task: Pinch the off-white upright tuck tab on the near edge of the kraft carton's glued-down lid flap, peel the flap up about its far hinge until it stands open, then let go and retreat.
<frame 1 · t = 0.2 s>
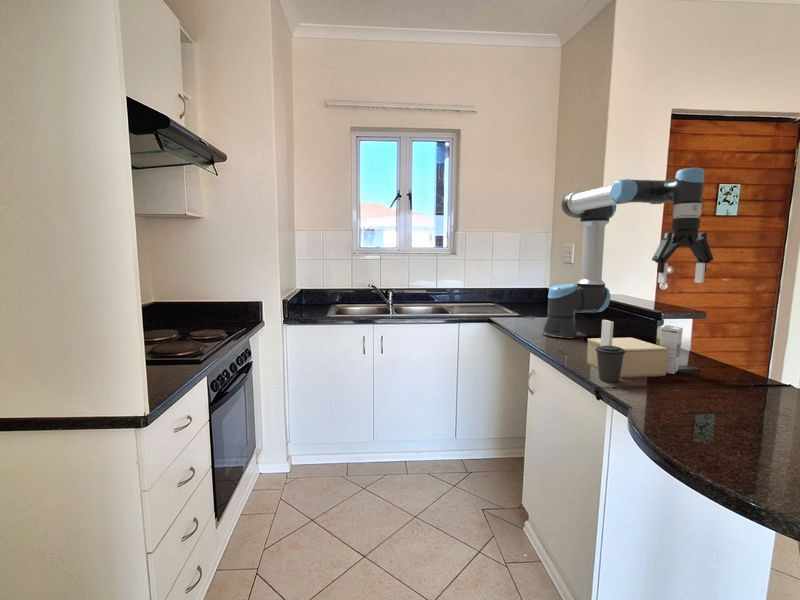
hand: (680, 282, 132), 28 cm above the table, fingers open, 13 cm apart
coffee cup: (609, 379, 119), on the table, touching lid flap
carton: (624, 369, 129), on the table
lid flap: (624, 332, 128), point 12 cm above the table, hinge at 0.4°, touching coffee cup
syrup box: (666, 371, 128), on the table
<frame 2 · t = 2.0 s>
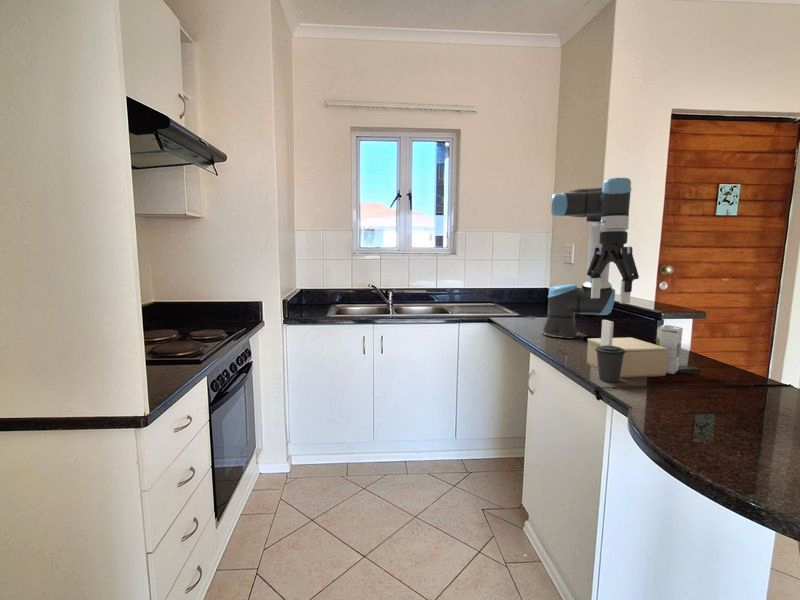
hand: (609, 300, 123), 23 cm above the table, fingers open, 13 cm apart
nothing on the table moved.
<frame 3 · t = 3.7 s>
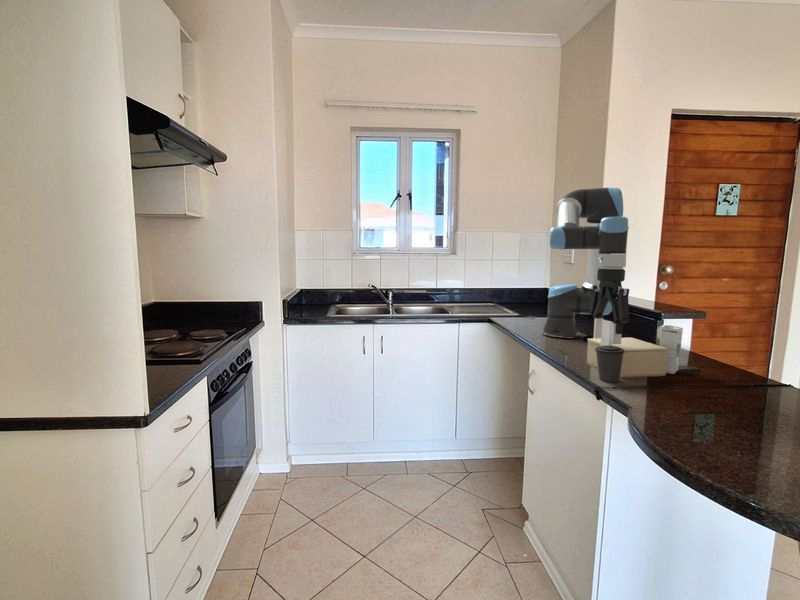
hand: (606, 340, 124), 10 cm above the table, fingers open, 8 cm apart
coffee cup: (609, 379, 119), on the table, touching gripper, lid flap
everything else where it was.
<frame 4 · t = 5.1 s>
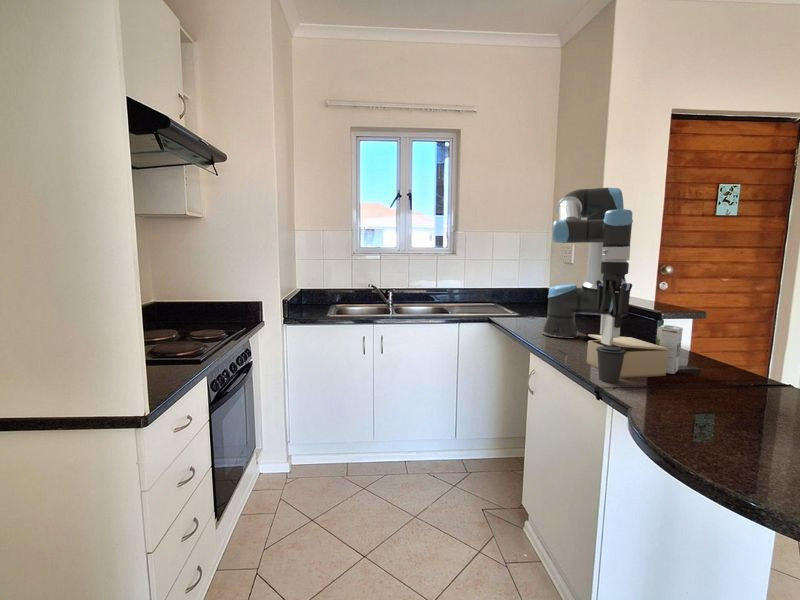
hand: (609, 335, 124), 12 cm above the table, fingers closed on lid flap, 4 cm apart
coffee cup: (608, 380, 119), on the table
lid flap: (626, 330, 128), point 13 cm above the table, hinge at 5.8°, touching gripper
everything else where it was.
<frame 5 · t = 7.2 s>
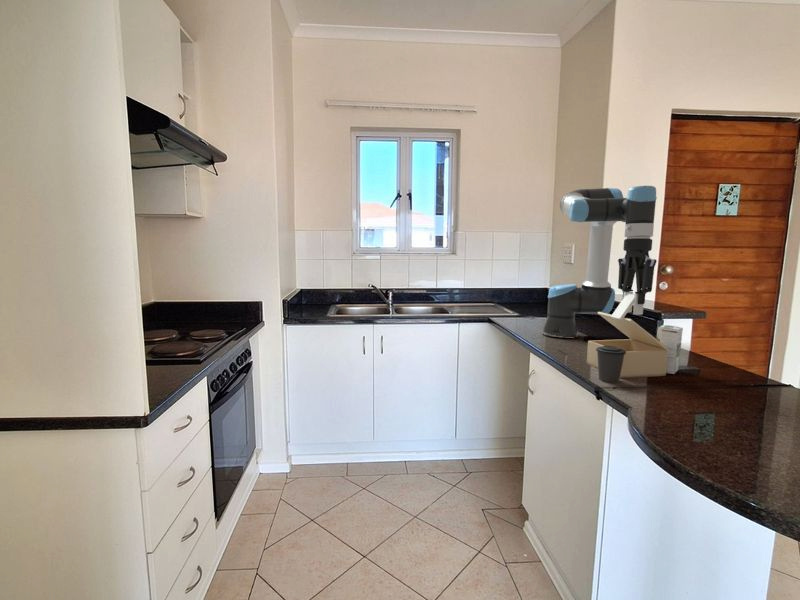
hand: (632, 313, 125), 19 cm above the table, fingers closed on lid flap, 4 cm apart
lid flap: (636, 319, 128), point 16 cm above the table, hinge at 35.2°, touching gripper
everything else where it was.
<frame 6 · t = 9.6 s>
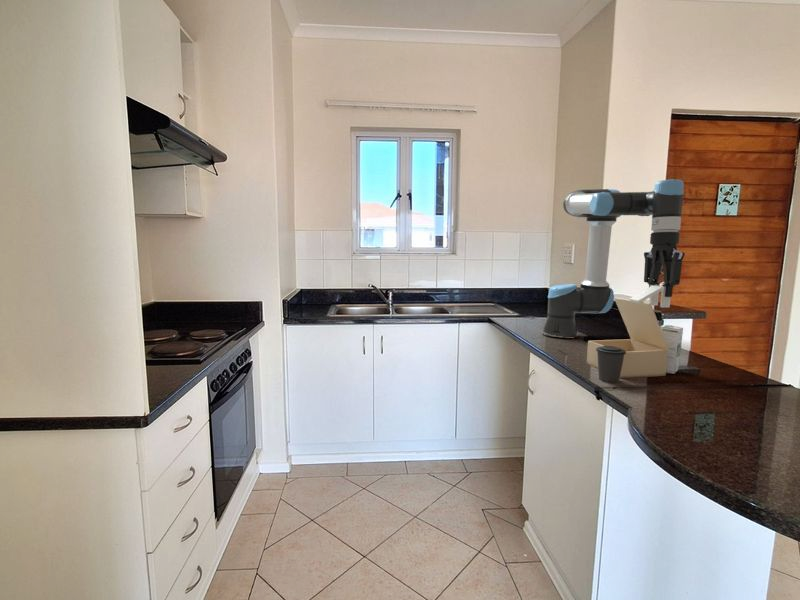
hand: (658, 306, 126), 21 cm above the table, fingers closed on lid flap, 4 cm apart
lid flap: (649, 315, 128), point 18 cm above the table, hinge at 62.5°, touching gripper, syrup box
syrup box: (666, 371, 128), on the table, touching lid flap
everything else where it was.
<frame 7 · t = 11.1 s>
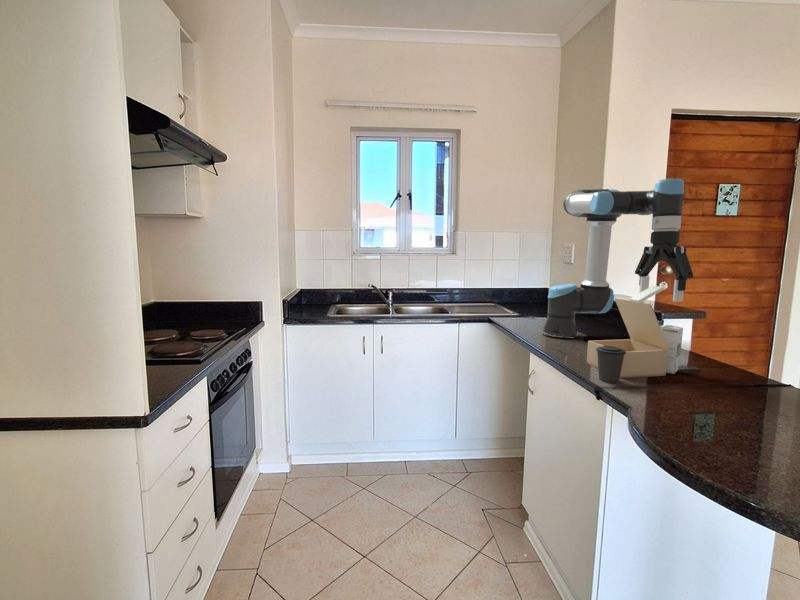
hand: (659, 298, 126), 23 cm above the table, fingers open, 13 cm apart
lid flap: (649, 315, 128), point 18 cm above the table, hinge at 62.5°, touching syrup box
everything else where it was.
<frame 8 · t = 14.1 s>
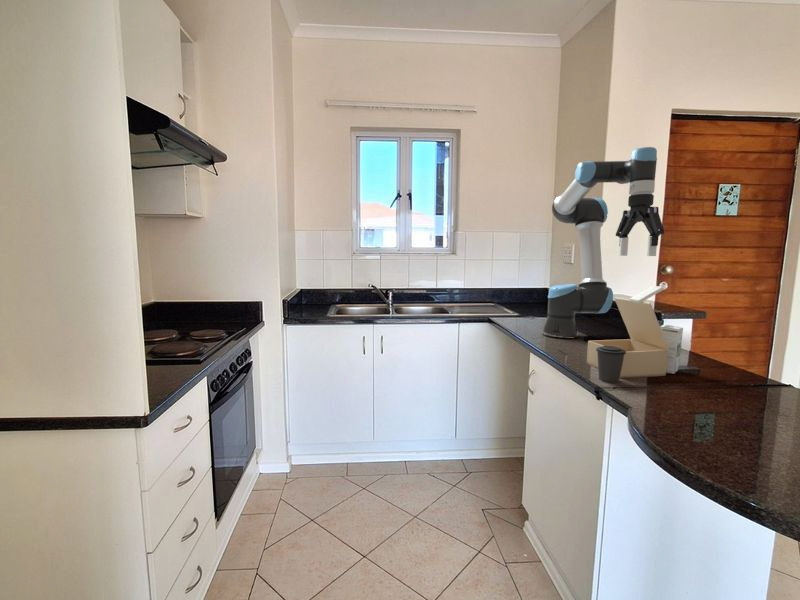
hand: (636, 255, 141), 37 cm above the table, fingers open, 13 cm apart
nothing on the table moved.
at the end: lid flap at +62° (first picture: +0°); the gripper is holding nothing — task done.
